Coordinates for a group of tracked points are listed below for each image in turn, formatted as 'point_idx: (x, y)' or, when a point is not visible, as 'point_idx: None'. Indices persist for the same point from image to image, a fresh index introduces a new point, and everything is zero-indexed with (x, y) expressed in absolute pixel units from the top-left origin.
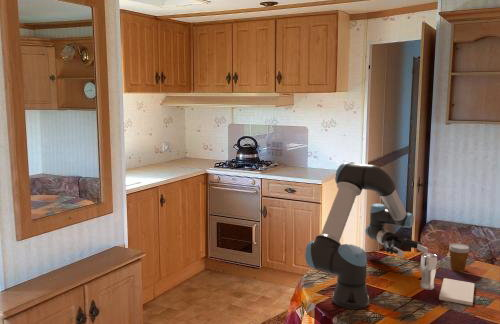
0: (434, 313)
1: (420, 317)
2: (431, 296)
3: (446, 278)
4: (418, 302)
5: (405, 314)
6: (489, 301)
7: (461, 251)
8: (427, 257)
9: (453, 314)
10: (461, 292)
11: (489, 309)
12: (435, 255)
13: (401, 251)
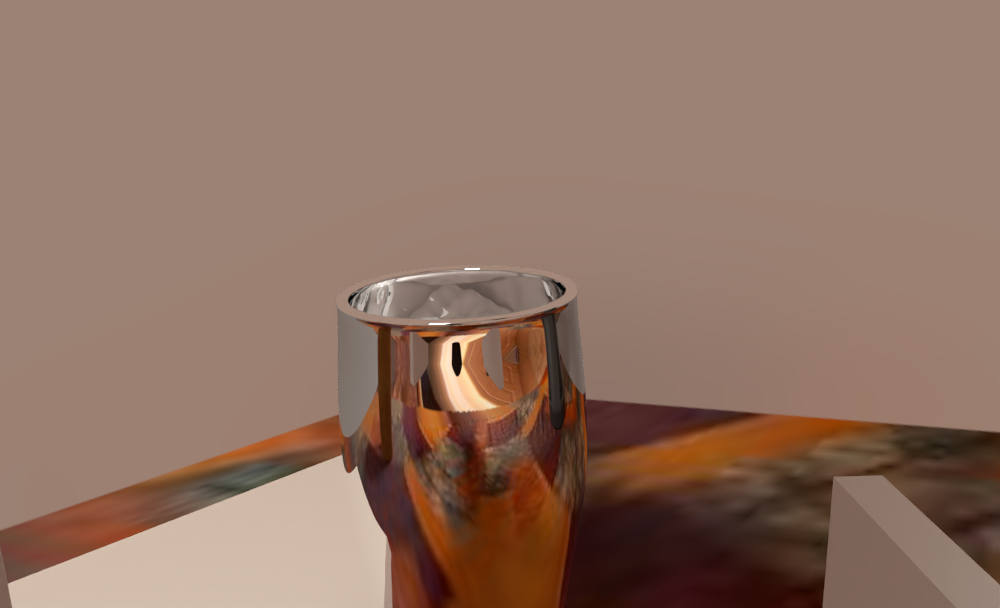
0: (733, 442)
1: (855, 430)
2: (597, 582)
3: None
4: (789, 535)
5: (960, 457)
6: (216, 474)
7: None
8: (544, 272)
9: (612, 426)
10: (310, 518)
11: (339, 429)
12: (356, 290)
13: (904, 500)
